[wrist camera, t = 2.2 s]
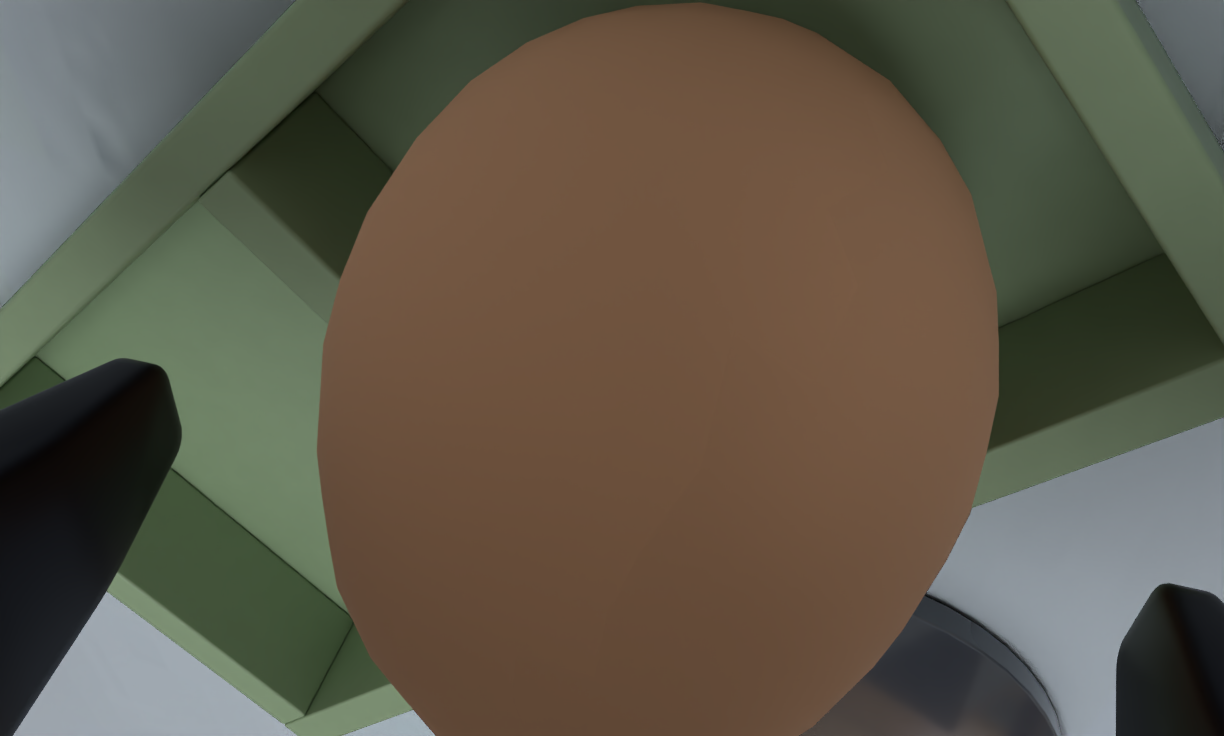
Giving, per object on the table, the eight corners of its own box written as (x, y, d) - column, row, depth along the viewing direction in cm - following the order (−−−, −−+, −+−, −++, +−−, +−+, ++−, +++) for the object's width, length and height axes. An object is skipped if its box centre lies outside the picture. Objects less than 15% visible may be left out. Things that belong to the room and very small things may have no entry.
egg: (409, 149, 16) (-16, 658, 9) (721, -230, 12) (398, 152, 5) (731, 421, 17) (593, 1025, 10) (1098, 173, 13) (1270, 884, 6)
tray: (1277, 243, 14) (1339, 377, 12) (366, 639, 24) (311, 747, 22) (832, -524, 10) (804, -533, 8) (-7, 334, 21) (-114, 427, 19)
